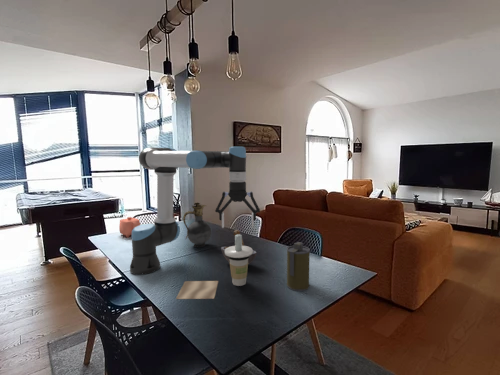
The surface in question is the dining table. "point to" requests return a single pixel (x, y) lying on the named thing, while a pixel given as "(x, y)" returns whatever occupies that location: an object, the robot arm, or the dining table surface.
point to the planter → (242, 245)
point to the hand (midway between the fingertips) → (237, 227)
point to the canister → (298, 267)
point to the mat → (198, 290)
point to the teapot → (128, 226)
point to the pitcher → (198, 227)
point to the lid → (238, 249)
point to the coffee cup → (239, 270)
